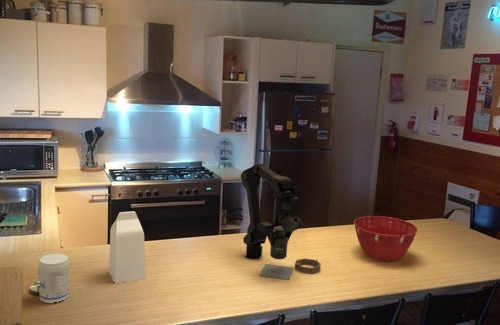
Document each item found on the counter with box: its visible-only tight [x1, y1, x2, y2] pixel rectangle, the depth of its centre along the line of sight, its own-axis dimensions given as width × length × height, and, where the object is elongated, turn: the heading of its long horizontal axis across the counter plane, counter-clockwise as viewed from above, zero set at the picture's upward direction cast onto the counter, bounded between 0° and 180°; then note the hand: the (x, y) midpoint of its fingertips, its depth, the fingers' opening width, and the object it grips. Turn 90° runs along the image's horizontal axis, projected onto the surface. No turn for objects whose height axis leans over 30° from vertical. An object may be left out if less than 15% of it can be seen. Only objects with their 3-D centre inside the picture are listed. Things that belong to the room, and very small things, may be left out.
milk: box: [108, 211, 147, 284], centre depth 186 cm, size 12×12×26 cm
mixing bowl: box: [353, 215, 419, 263], centre depth 222 cm, size 28×28×15 cm
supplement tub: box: [38, 253, 70, 304], centre depth 166 cm, size 10×10×15 cm
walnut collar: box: [294, 257, 322, 275], centre depth 204 cm, size 10×10×3 cm
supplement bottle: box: [269, 227, 289, 260], centre depth 197 cm, size 7×7×12 cm
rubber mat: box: [259, 263, 294, 281], centre depth 199 cm, size 12×12×1 cm
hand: (279, 245), depth 197 cm, fingers closed on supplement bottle, 7 cm apart
